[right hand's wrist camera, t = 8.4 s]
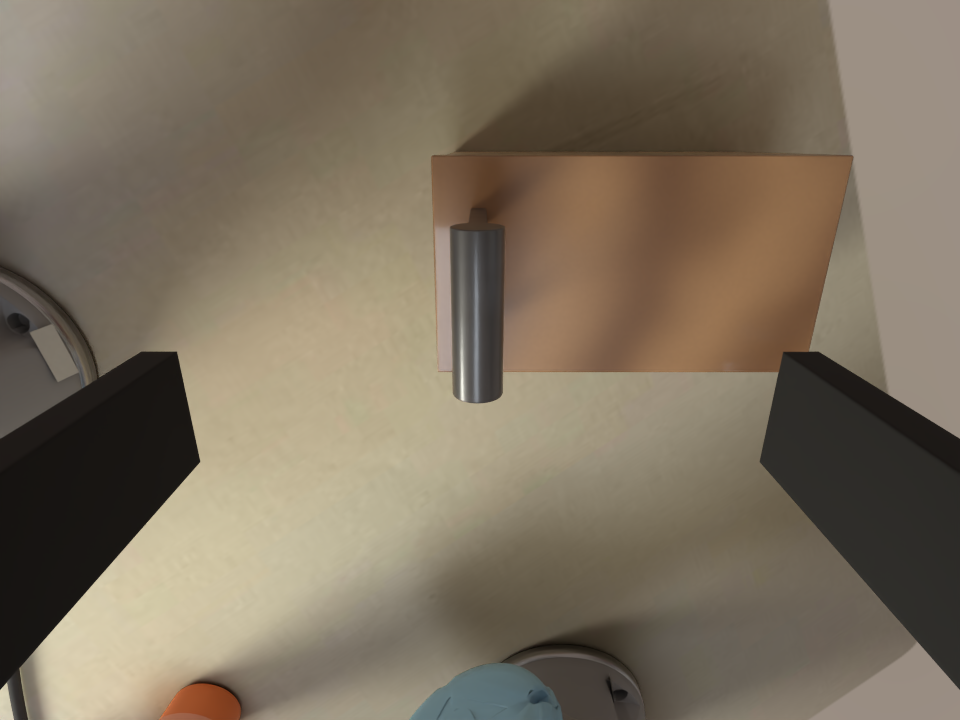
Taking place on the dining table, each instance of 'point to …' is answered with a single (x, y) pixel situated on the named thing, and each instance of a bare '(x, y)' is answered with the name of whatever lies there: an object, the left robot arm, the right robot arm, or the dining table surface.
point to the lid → (628, 262)
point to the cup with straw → (203, 704)
